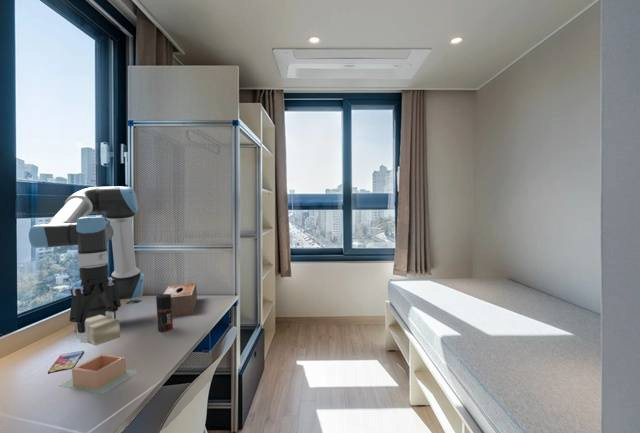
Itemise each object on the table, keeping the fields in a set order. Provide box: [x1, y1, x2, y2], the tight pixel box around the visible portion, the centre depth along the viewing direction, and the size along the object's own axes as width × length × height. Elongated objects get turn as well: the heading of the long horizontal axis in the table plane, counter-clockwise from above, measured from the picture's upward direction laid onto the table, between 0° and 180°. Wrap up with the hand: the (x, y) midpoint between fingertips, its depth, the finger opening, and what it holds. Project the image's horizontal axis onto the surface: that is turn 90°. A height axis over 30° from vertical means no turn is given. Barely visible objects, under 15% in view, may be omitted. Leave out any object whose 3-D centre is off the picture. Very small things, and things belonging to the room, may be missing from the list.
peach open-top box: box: [71, 353, 127, 389], centre depth 103 cm, size 10×10×5 cm
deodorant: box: [155, 293, 174, 333], centre depth 143 cm, size 6×6×15 cm
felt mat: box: [58, 368, 140, 395], centre depth 103 cm, size 18×13×1 cm
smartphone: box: [47, 350, 85, 375], centre depth 116 cm, size 7×1×15 cm
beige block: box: [75, 315, 121, 347], centre depth 103 cm, size 12×7×6 cm, turn 59°
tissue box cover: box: [163, 282, 198, 318], centre depth 172 cm, size 26×14×10 cm, turn 16°
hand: (98, 336), depth 103 cm, fingers closed on beige block, 8 cm apart
